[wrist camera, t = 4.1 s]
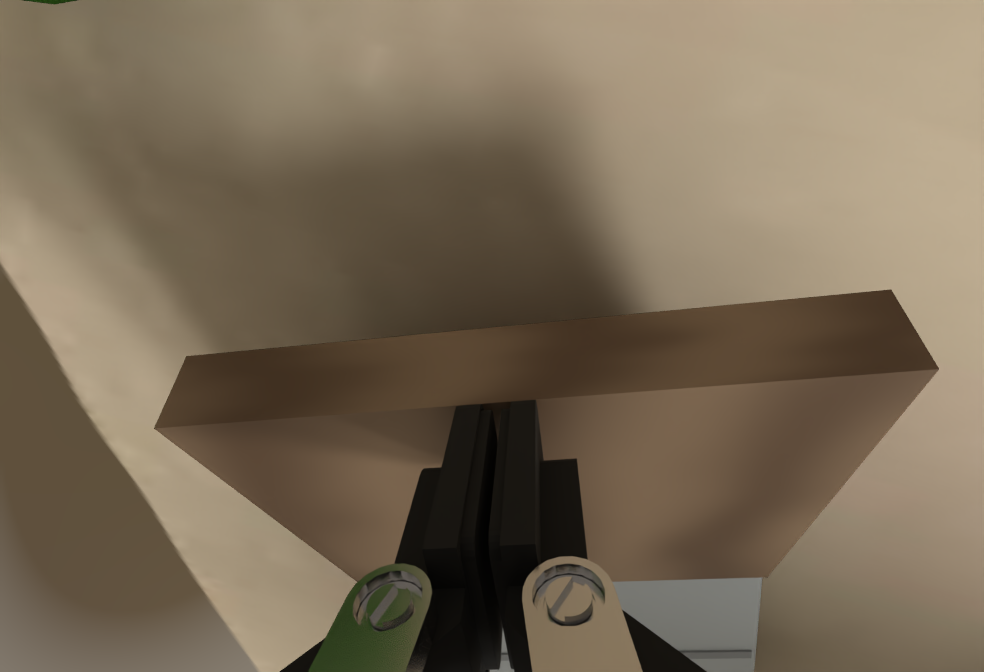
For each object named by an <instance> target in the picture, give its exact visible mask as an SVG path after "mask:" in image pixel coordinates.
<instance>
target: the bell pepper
mask: <svg viewBox="0 0 984 672" xmlns="http://www.w3.org/2000/svg"><path fill="white" fill-rule="evenodd" d="M24 1H32V2H40V3H48V4H59V3H65V2H71V1H77V0H24Z"/></svg>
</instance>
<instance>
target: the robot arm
mask: <svg viewBox="0 0 984 672" xmlns="http://www.w3.org/2000/svg"><path fill="white" fill-rule="evenodd" d="M503 631H504V636H505V642H506V647H507V652H508V657H509V662H510V667H511V669H514V672H707V671H705V670H704V669H703V668H701V667H700V666H699V665H697V664H696V663H694V662H693V661H692V660H690V659H689V658H688V657H686V656H685V655H684V654H682V653H681V652H679V651H678V650H677V649H675V648H674V647H673V646H671V645H670V644H669V643H667V642H666V641H664V640H663V639H662V638H660V637H659V636H658V635H656V634H655V633H654V632H652V631H651V630H650V629H648V628H647V627H645V626H644V625H643V624H641V623H640V622H639V621H637V620H636V619H635V618H633V617H632V616H630V615H629V614H628V613H626V612H625V611H624V610H622V608H621V605H620V602H619V599H618V596H617V593H616V590H615V587H614V585H613V583H612V581H611V579H610V577H609V575H608V574H607V573H606V572H605V571H604V570H603V569H602V568H601V567H600V566H599V565H597V564H595V563H593V562H591V561H589V560H588V557H587V548H586V539H585V529H584V520H583V511H582V501H581V492H580V483H579V473H578V464H577V458H575V459H560V460H544V458H543V450H542V442H541V433H540V425H539V417H538V409H537V402H536V400H524V401H511V404H510V408H508V409H501V417H500V427H499V437H498V440H497V434H496V428H495V421H494V415H493V411H492V410H484V408H483V405H482V404H474V405H461V406H456V409H455V413H454V417H453V421H452V425H451V429H450V434H449V438H448V442H447V446H446V450H445V454H444V459H443V463H442V467H437V468H424V469H423V470H422V471H421V474H420V476H419V480H418V483H417V487H416V490H415V493H414V497H413V500H412V504H411V507H410V511H409V514H408V518H407V521H406V525H405V528H404V532H403V535H402V538H401V542H400V545H399V549H398V552H397V556H396V559H395V563H394V564H390V565H386V566H383V567H380V568H377V569H376V570H374V571H372V572H370V573H368V574H367V575H365V576H364V577H363V578H362V579H361V580H360V581H358V582H357V583H356V584H355V586H354V587H353V588H352V590H351V591H350V593H349V594H348V596H347V598H346V600H345V601H344V603H343V605H342V607H341V609H340V611H339V613H338V615H337V617H336V619H335V621H334V623H333V625H332V626H331V628H330V630H329V632H328V634H327V636H326V638H325V639H323V640H322V641H321V642H319V643H318V644H317V645H315V646H314V647H312V648H311V649H310V650H308V651H307V652H306V653H304V654H303V655H302V656H300V657H299V658H298V659H296V660H295V661H293V662H292V663H291V664H289V665H288V666H287V667H285V668H284V669H283V670H281V671H280V672H490V670H499V669H500V664H501V649H502V632H503Z"/></svg>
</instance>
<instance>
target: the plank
mask: <svg viewBox="0 0 984 672" xmlns="http://www.w3.org/2000/svg"><path fill="white" fill-rule="evenodd" d="M938 370H939V368H938V366H937V365H936V363H935V361H934V360H933V358H932V356H931V355H930V353H929V352H928V350H927V348H926V347H925V345H924V343H923V342H922V340H921V338H920V337H919V335H918V333H917V332H916V330H915V328H914V327H913V325H912V323H911V322H910V320H909V318H908V317H907V315H906V313H905V312H904V310H903V309H902V307H901V305H900V304H899V302H898V300H897V299H896V297H895V295H894V294H893V292H892V290H882V291H872V292H861V293H851V294H840V295H829V296H819V297H808V298H798V299H787V300H777V301H766V302H756V303H745V304H734V305H724V306H713V307H703V308H692V309H682V310H671V311H660V312H650V313H639V314H629V315H618V316H608V317H597V318H587V319H576V320H565V321H555V322H544V323H534V324H523V325H513V326H502V327H491V328H481V329H470V330H460V331H449V332H439V333H428V334H418V335H407V336H396V337H386V338H375V339H365V340H354V341H344V342H333V343H322V344H312V345H301V346H291V347H280V348H270V349H259V350H249V351H238V352H227V353H217V354H206V355H196V356H186V358H185V361H184V363H183V365H182V367H181V370H180V372H179V374H178V376H177V379H176V381H175V383H174V385H173V387H172V390H171V392H170V394H169V396H168V399H167V401H166V403H165V405H164V408H163V410H162V412H161V414H160V416H159V419H158V421H157V423H156V425H155V428H154V429H156V430H157V431H158V432H160V433H161V434H162V435H163V436H165V437H166V438H167V439H169V440H170V441H171V442H173V443H174V444H175V445H177V446H178V447H179V448H181V449H182V450H183V451H185V452H186V453H187V454H189V455H190V456H191V457H193V458H194V459H195V460H197V461H198V462H199V463H201V464H202V465H203V466H205V467H206V468H207V469H209V470H210V471H211V472H213V473H214V474H215V475H217V476H218V477H219V478H220V479H222V480H223V481H224V482H226V483H227V484H228V485H230V486H231V487H232V488H234V489H235V490H236V491H238V492H239V493H240V494H242V495H243V496H244V497H246V498H247V499H248V500H250V501H251V502H252V503H254V504H255V505H256V506H258V507H259V508H260V509H262V510H263V511H264V512H266V513H267V514H268V515H270V516H271V517H272V518H274V519H275V520H276V521H278V522H279V523H280V524H281V525H283V526H284V527H285V528H287V529H288V530H289V531H291V532H292V533H293V534H295V535H296V536H297V537H299V538H300V539H301V540H303V541H304V542H305V543H307V544H308V545H309V546H311V547H312V548H313V549H315V550H316V551H317V552H319V553H320V554H321V555H323V556H324V557H325V558H327V559H328V560H329V561H331V562H332V563H333V564H335V565H336V566H337V567H338V568H340V569H341V570H342V571H344V572H345V573H346V574H348V575H349V576H350V577H352V578H353V579H354V580H356V581H357V582H358V581H360V580H361V579H362V578H363V577H364V576H365V575H367V574H368V573H370V572H372V571H374V570H376V569H377V568H380V567H383V566H386V565H390V564H394V563H395V559H396V556H397V552H398V549H399V545H400V542H401V538H402V535H403V532H404V528H405V525H406V521H407V518H408V514H409V511H410V507H411V504H412V500H413V497H414V493H415V490H416V487H417V483H418V480H419V476H420V474H421V471H422V470H423V469H424V468H437V467H442V463H443V459H444V454H445V450H446V446H447V442H448V438H449V434H450V429H451V425H452V421H453V417H454V413H455V409H456V406H461V405H474V404H482V405H483V408H484V410H492V411H493V415H494V421H495V428H496V434H497V440H498V437H499V427H500V417H501V409H508V408H510V404H511V401H524V400H536V402H537V409H538V417H539V425H540V433H541V442H542V450H543V458H544V460H560V459H575V458H577V464H578V473H579V483H580V492H581V501H582V511H583V520H584V529H585V539H586V548H587V557H588V560H589V561H591V562H593V563H595V564H597V565H599V566H600V567H601V568H602V569H603V570H604V571H605V572H606V573H607V574H608V575H609V577H610V579H611V581H612V582H625V581H659V580H693V579H727V578H762V577H768V576H769V575H770V573H771V572H772V571H773V570H774V568H775V567H776V566H777V565H778V564H779V562H780V561H781V560H782V559H783V558H784V556H785V555H786V554H787V553H788V552H789V550H790V549H791V548H792V547H793V545H794V544H795V543H796V542H797V541H798V539H799V538H800V537H801V536H802V535H803V533H804V532H805V531H806V530H807V529H808V527H809V526H810V525H811V524H812V522H813V521H814V520H815V519H816V518H817V516H818V515H819V514H820V513H821V512H822V510H823V509H824V508H825V507H826V506H827V504H828V503H829V502H830V501H831V499H832V498H833V497H834V496H835V495H836V493H837V492H838V491H839V490H840V489H841V487H842V486H843V485H844V484H845V483H846V481H847V480H848V479H849V478H850V476H851V475H852V474H853V473H854V472H855V470H856V469H857V468H858V467H859V466H860V464H861V463H862V462H863V461H864V460H865V458H866V457H867V456H868V455H869V453H870V452H871V451H872V450H873V449H874V447H875V446H876V445H877V444H878V443H879V441H880V440H881V439H882V438H883V437H884V435H885V434H886V433H887V432H888V430H889V429H890V428H891V427H892V426H893V424H894V423H895V422H896V421H897V420H898V418H899V417H900V416H901V415H902V414H903V412H904V411H905V410H906V409H907V407H908V406H909V405H910V404H911V403H912V401H913V400H914V399H915V398H916V397H917V395H918V394H919V393H920V392H921V391H922V389H923V388H924V387H925V386H926V384H927V383H928V382H929V381H930V380H931V378H932V377H933V376H934V375H935V374H936V372H937V371H938Z"/></svg>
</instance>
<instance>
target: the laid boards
mask: <svg viewBox="0 0 984 672" xmlns="http://www.w3.org/2000/svg"><path fill="white" fill-rule="evenodd" d="M612 583H613V585H614V587H615V590H616V593H617V596H618V599H619V602H620V605H621V608H622V610H624V611H625V612H626V613H628V614H629V615H630V616H632V617H633V618H635V619H636V620H637V621H639V622H640V623H641V624H643V625H644V626H645V627H647V628H648V629H650V630H651V631H652V632H654V633H655V634H656V635H658V636H659V637H660V638H662V639H663V640H664V641H666V642H667V643H669V644H670V645H671V646H673V647H674V648H675V649H677V650H678V651H679V652H681V653H682V654H684V655H685V656H686V657H688V658H689V659H690V660H692V661H693V662H694V663H696V664H697V665H699V666H700V667H701V668H703V669H704V670H705V671H707V672H754V668H755V656H756V645H757V633H758V622H759V610H760V599H761V587H762V578H727V579H693V580H659V581H625V582H612ZM490 672H514V669H511V667H510V662H509V657H508V652H507V647H506V642H505V636H504V631H503V632H502V649H501V664H500V669H499V670H490Z"/></svg>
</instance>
